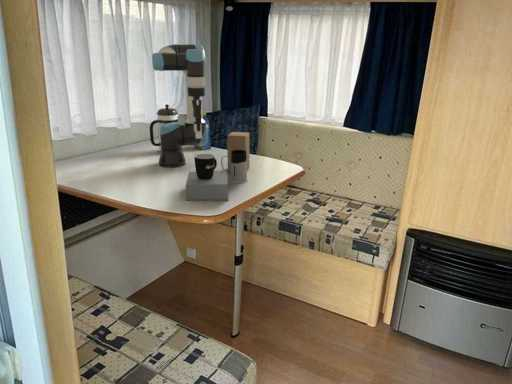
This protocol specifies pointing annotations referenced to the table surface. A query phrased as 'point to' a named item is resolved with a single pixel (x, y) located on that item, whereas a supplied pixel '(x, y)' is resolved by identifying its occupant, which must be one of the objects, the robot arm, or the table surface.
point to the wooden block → (238, 145)
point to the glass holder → (238, 166)
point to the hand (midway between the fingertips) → (197, 134)
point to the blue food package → (208, 144)
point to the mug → (205, 166)
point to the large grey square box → (207, 187)
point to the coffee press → (163, 121)
